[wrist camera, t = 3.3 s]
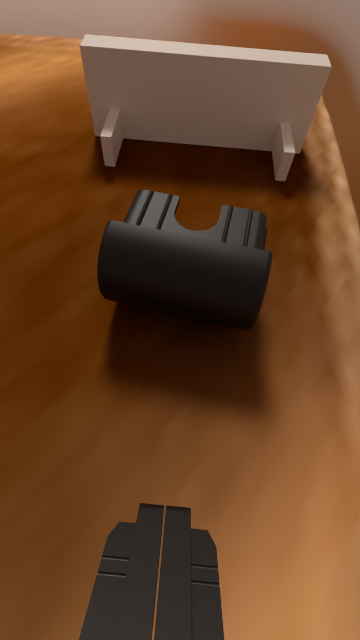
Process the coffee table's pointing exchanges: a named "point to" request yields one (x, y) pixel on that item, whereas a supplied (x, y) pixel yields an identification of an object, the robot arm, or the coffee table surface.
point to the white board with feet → (202, 95)
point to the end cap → (186, 262)
